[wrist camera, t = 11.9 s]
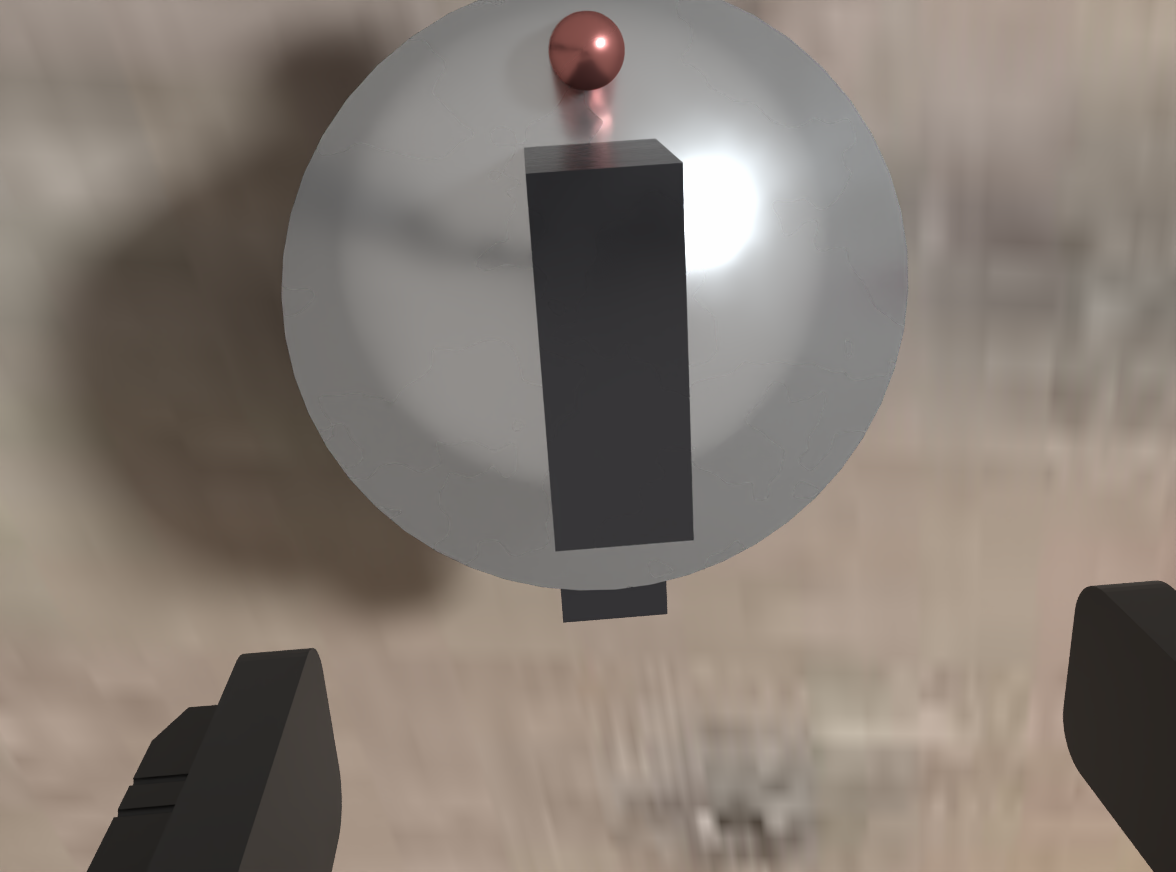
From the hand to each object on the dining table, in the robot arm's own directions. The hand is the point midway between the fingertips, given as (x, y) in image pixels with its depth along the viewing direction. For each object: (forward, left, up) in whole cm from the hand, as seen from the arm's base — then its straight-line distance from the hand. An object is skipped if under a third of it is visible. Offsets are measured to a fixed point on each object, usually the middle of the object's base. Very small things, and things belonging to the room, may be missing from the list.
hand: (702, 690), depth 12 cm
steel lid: (0, 0, -17) cm, 17 cm away
